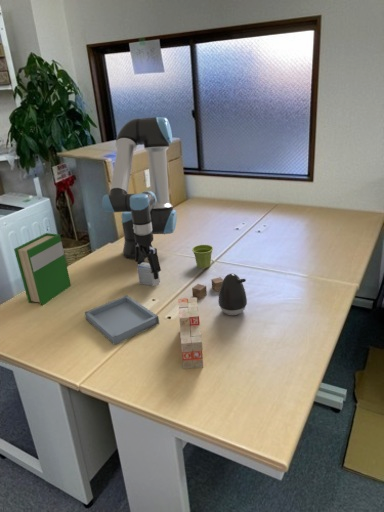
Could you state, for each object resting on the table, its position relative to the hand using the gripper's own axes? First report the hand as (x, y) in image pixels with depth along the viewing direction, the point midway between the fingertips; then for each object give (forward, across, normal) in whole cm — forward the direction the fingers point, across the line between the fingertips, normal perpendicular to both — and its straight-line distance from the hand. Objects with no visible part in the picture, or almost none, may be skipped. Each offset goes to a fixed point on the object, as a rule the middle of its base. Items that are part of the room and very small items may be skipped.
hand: (149, 281), depth 172 cm
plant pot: (+1, +4, +27) cm, 27 cm away
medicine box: (+1, 0, 0) cm, 1 cm away
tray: (+1, +18, -24) cm, 30 cm away
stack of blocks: (+1, +48, -15) cm, 50 cm away
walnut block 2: (+1, +25, +17) cm, 30 cm away
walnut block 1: (+1, +24, +8) cm, 25 cm away
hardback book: (+1, -23, -35) cm, 42 cm away
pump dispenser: (+1, +42, +9) cm, 43 cm away
